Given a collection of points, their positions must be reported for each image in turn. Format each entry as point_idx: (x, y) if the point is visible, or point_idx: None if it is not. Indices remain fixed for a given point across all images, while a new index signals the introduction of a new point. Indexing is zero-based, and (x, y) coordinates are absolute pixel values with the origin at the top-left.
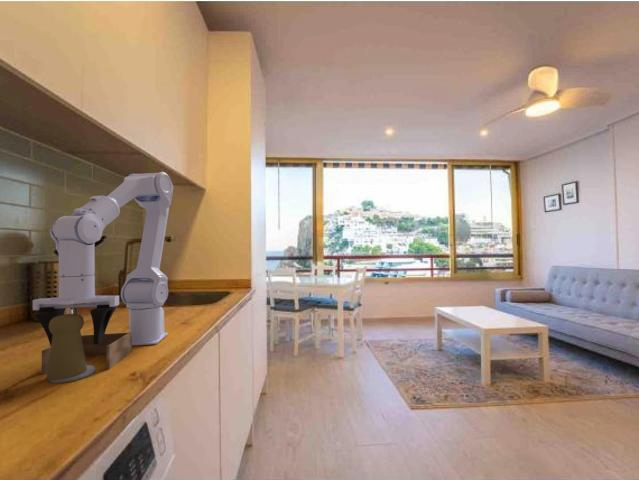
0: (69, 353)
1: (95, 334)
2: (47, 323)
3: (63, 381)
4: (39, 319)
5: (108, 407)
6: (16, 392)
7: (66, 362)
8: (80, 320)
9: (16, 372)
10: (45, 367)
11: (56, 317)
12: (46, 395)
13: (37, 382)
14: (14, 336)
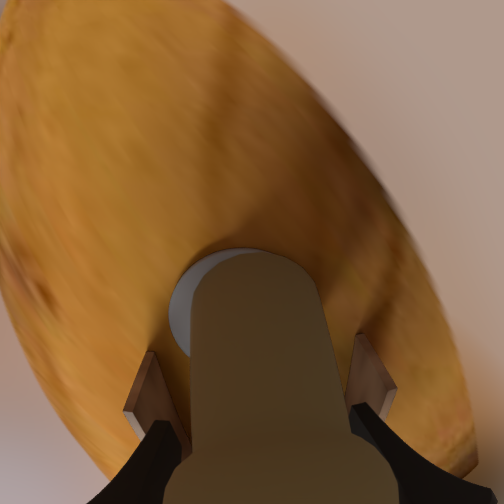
0: (212, 336)
1: (144, 455)
2: (419, 489)
3: (225, 250)
4: (466, 489)
5: (2, 82)
6: (350, 182)
7: (221, 300)
8: None
9: (433, 341)
10: (362, 350)
11: None
12: (209, 136)
13: (335, 266)
14: (468, 453)
